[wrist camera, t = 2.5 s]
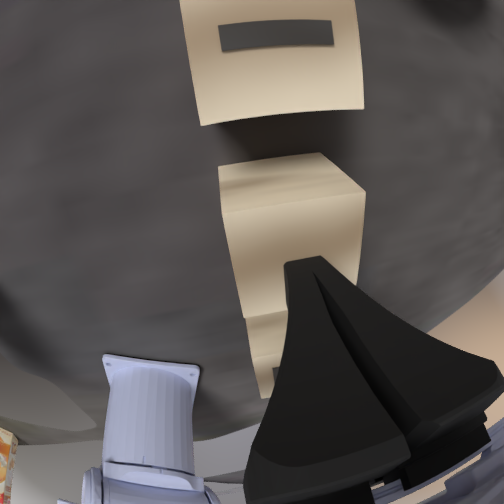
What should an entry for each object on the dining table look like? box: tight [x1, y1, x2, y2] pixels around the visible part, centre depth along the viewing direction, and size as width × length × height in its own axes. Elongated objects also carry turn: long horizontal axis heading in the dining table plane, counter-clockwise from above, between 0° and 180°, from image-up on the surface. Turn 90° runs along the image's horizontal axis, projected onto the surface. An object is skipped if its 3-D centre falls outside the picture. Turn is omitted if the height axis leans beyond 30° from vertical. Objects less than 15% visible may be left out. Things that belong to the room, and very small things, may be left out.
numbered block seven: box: [246, 310, 288, 399], centre depth 18 cm, size 5×5×5 cm
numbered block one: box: [180, 0, 364, 126], centre depth 8 cm, size 5×5×5 cm
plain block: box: [218, 152, 366, 318], centre depth 13 cm, size 5×5×5 cm
